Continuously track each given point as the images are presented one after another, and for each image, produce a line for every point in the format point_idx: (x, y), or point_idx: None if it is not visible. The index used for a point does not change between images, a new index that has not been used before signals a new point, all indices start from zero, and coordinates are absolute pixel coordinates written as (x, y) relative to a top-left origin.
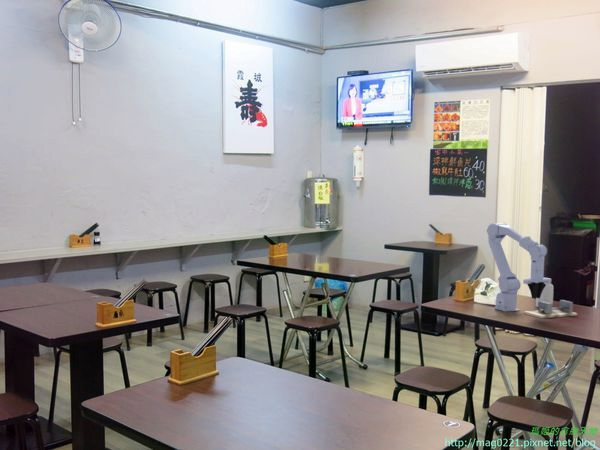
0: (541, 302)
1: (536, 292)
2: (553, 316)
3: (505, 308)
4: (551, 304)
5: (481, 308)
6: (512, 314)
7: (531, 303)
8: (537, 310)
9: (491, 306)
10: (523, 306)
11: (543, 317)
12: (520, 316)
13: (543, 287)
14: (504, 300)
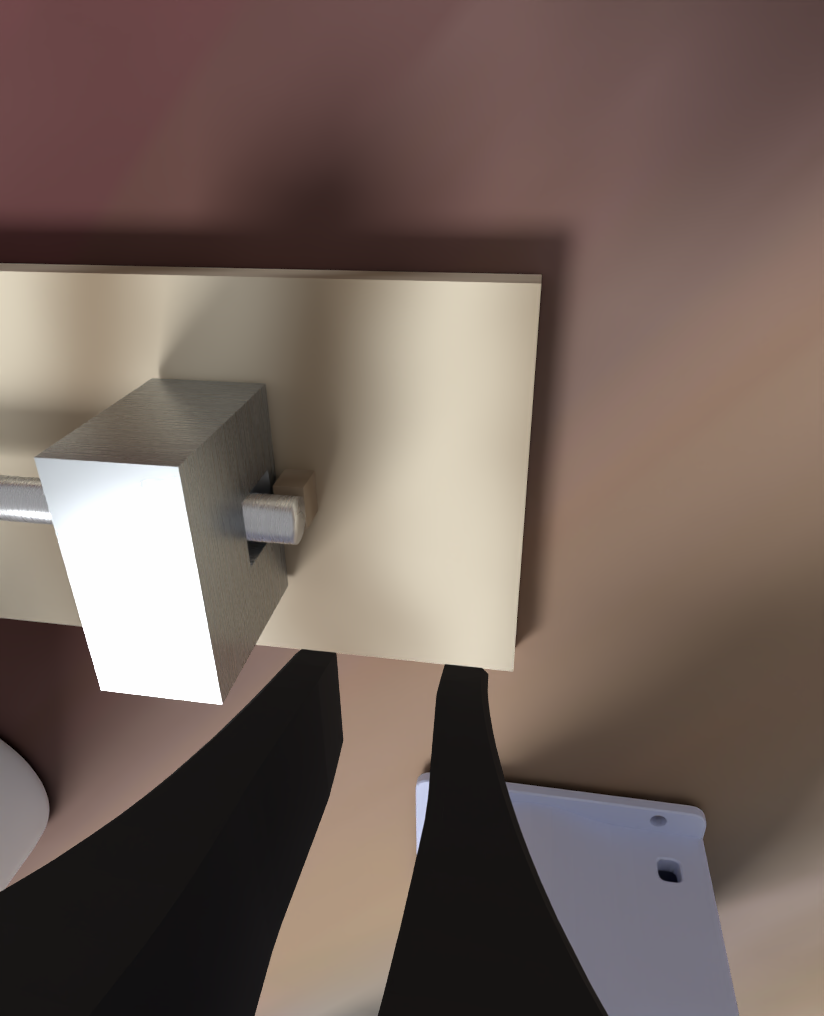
0: (209, 630)
1: (444, 801)
2: (204, 269)
3: (675, 857)
4: (71, 450)
5: (817, 1006)
6: (760, 665)
7: None
8: None
9: None
10: None
11: (455, 274)
12: (777, 519)
13: (42, 912)
14: (730, 996)
